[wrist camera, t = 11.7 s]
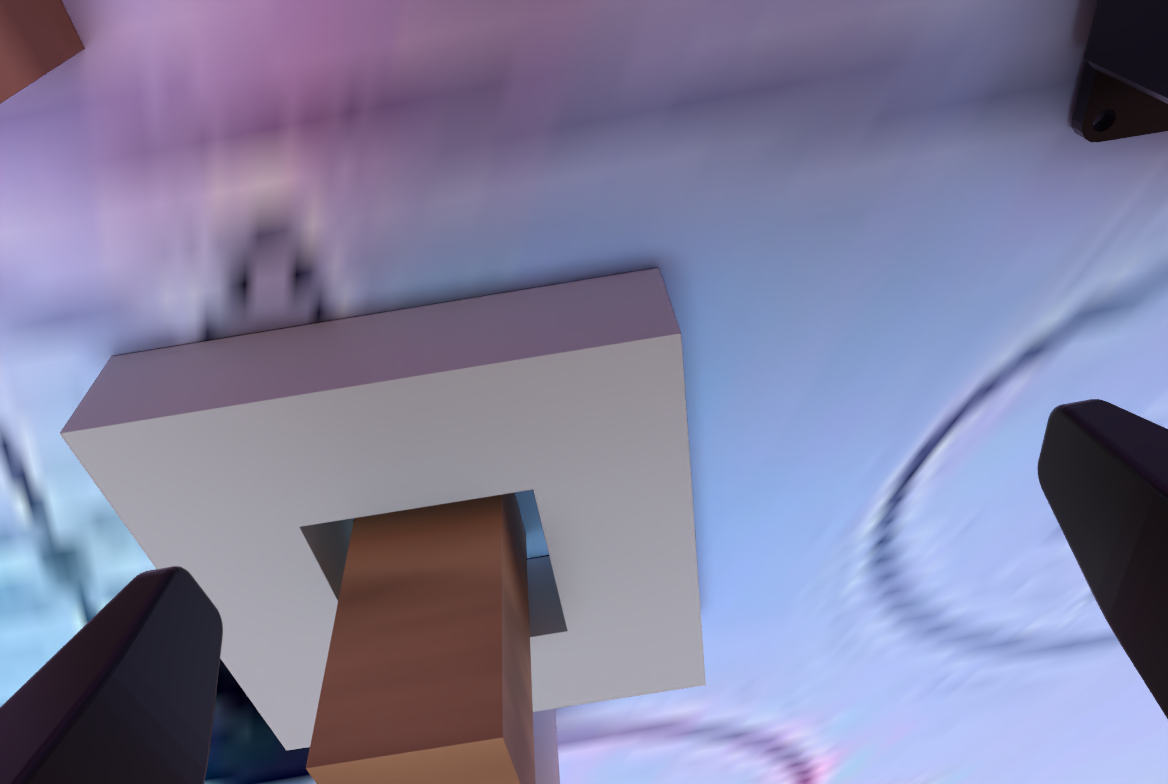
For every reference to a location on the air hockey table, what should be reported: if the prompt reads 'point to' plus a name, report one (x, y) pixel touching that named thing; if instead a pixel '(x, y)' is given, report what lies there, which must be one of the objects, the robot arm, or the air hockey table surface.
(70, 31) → the short brown block
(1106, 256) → the air hockey table surface
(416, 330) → the gauge block
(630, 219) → the air hockey table surface
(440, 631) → the brown rectangular block
